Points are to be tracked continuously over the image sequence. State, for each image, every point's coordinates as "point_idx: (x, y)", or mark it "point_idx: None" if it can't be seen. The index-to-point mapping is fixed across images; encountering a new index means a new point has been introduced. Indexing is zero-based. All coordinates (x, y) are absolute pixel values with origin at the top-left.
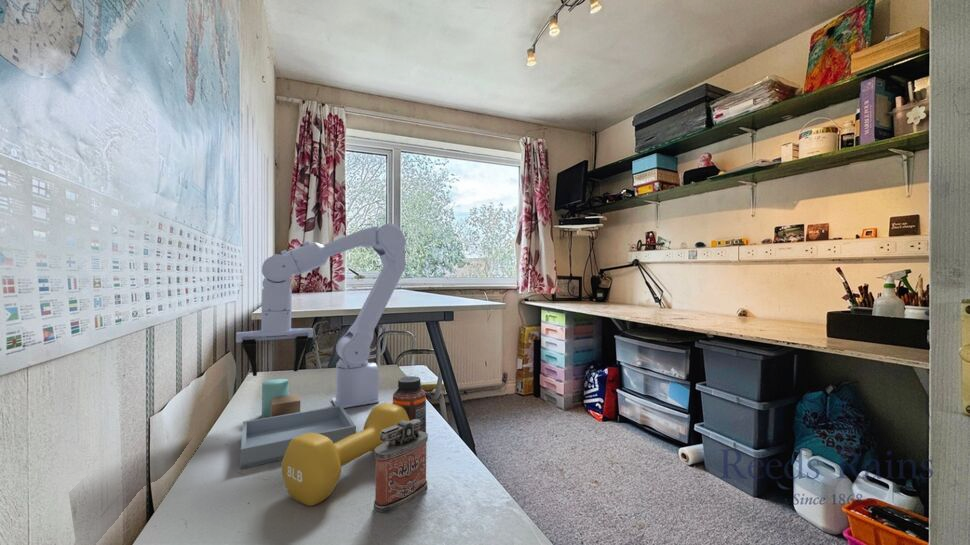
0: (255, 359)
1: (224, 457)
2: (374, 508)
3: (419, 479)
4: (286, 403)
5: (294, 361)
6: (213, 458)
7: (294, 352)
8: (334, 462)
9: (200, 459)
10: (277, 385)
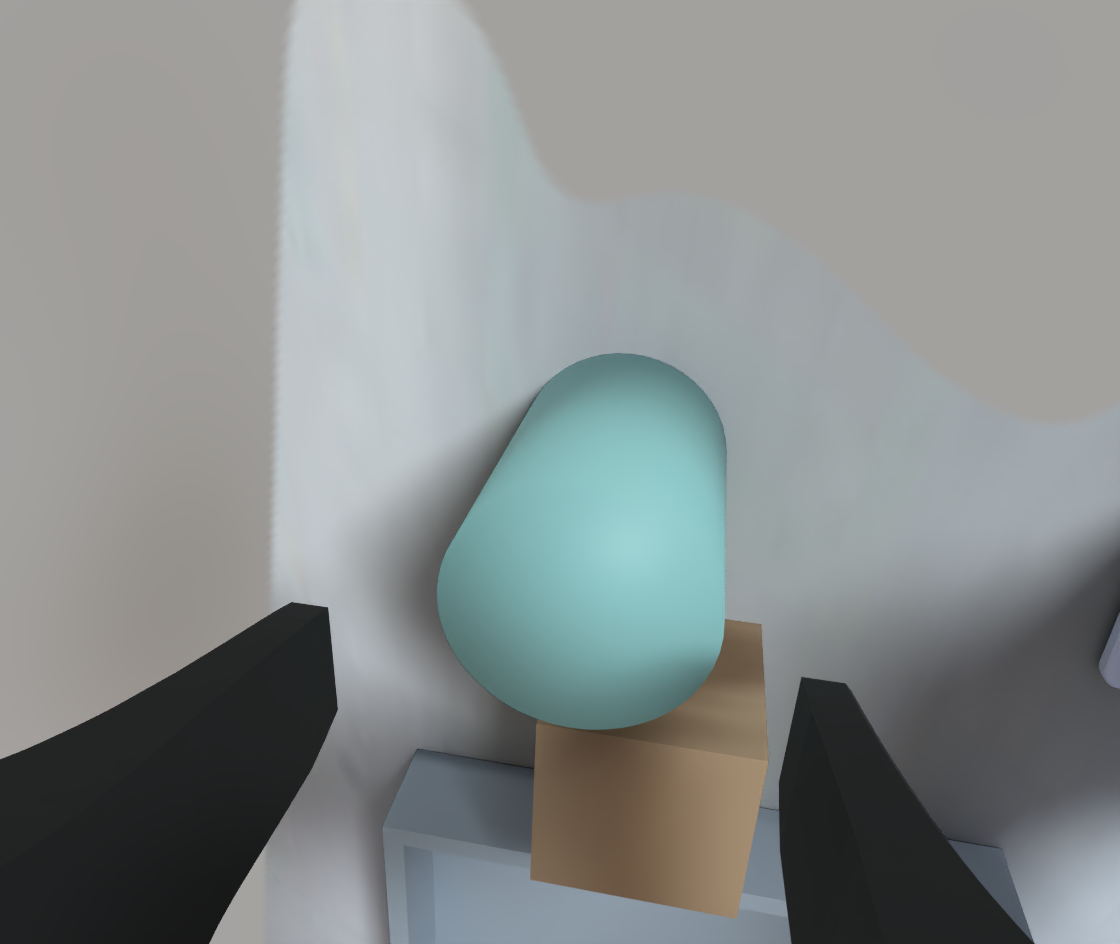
0: (205, 934)
1: (360, 891)
2: None
3: None
4: (633, 892)
5: (802, 879)
6: (319, 873)
7: (852, 925)
8: None
9: (270, 850)
10: (584, 722)
